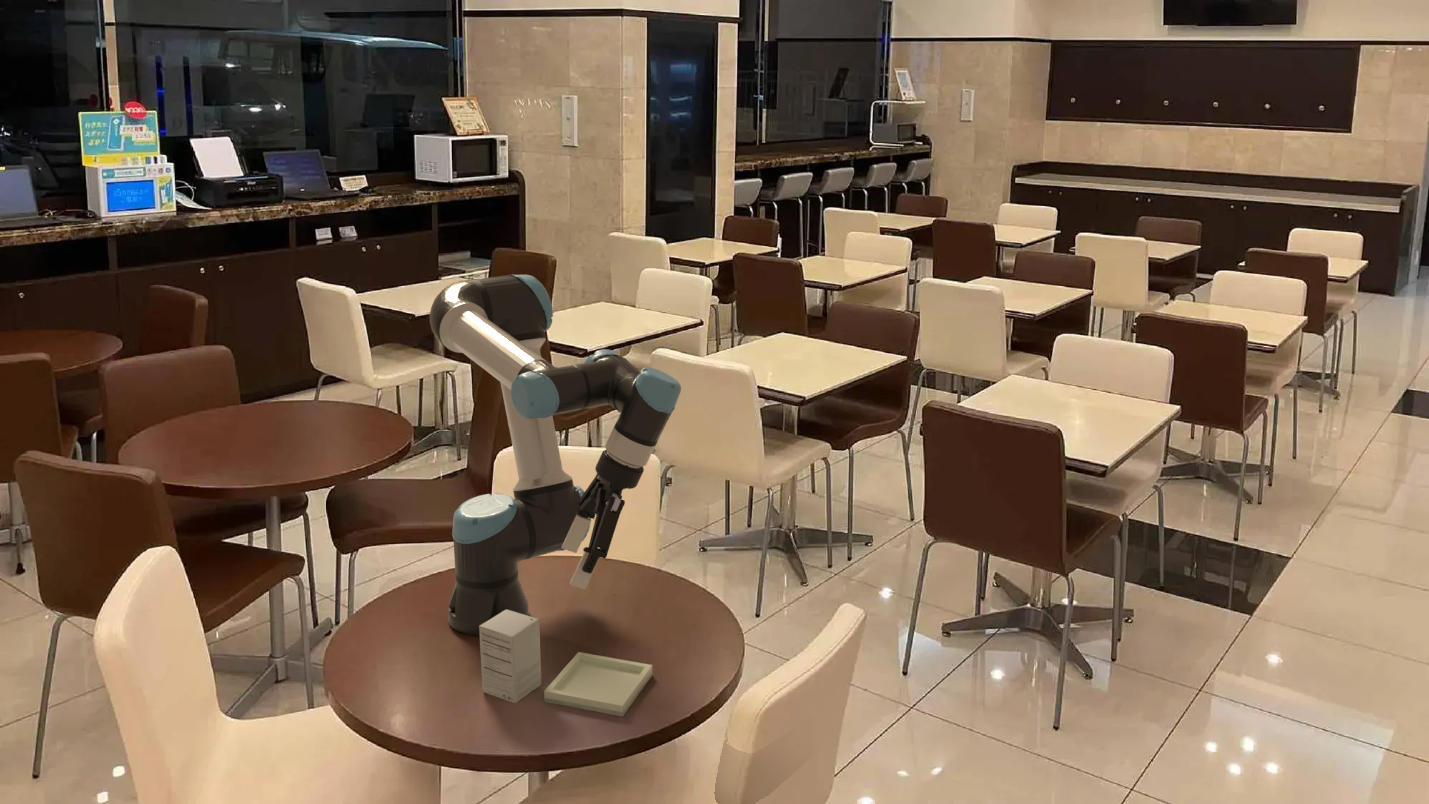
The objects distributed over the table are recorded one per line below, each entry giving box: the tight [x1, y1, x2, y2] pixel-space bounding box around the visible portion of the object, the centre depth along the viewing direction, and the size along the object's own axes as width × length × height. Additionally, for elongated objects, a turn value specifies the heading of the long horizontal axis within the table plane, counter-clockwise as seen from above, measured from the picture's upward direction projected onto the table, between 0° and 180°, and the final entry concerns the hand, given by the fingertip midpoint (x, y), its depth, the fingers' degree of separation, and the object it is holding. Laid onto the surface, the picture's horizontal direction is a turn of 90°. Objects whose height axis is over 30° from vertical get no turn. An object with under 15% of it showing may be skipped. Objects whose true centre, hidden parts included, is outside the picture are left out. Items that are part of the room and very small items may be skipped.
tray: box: [543, 651, 653, 717], centre depth 201 cm, size 14×14×2 cm
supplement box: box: [479, 610, 542, 704], centre depth 199 cm, size 7×7×13 cm
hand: (572, 567), depth 199 cm, fingers open, 13 cm apart
